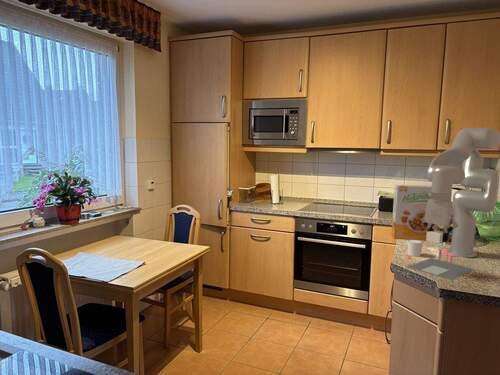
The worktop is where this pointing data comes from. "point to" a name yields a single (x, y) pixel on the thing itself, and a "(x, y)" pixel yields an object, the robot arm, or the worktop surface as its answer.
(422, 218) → the robot arm
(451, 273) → the mat
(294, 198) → the worktop surface
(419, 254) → the white cup
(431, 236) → the card box
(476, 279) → the worktop surface
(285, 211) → the worktop surface
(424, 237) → the cereal box
